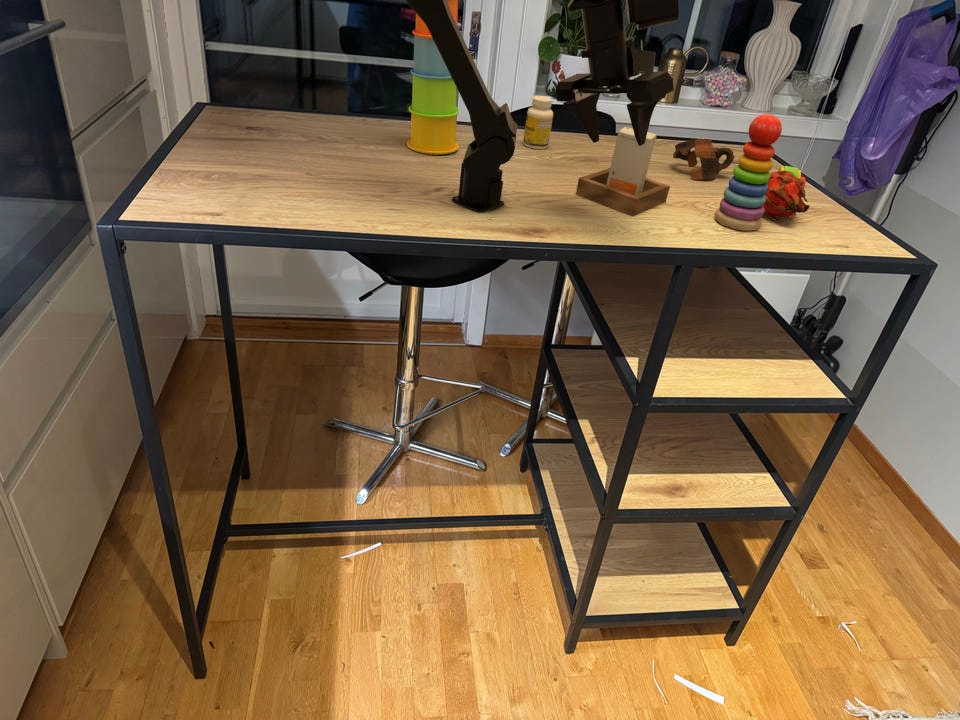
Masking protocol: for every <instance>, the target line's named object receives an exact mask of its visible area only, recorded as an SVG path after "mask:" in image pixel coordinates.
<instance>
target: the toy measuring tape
mask: <svg viewBox="0 0 960 720" xmlns="http://www.w3.org/2000/svg"><path fill="white" fill-rule="evenodd" d="M777 171H790V172H792V173H793V174H794V175H795V177H797V178H799V179H801V180H802V181H803V183H804V184H803V185H802V186H801V187H803V189H804V190H805V187H806V186H805V185H806V182H807V180H806V178H805V177H804V176H802V171H801V170H800V169H799V168H798V167H796V166H795V167H793V166H789V165H788V166H787V165H784V166H780V167H779V168H778V170H777ZM774 172H775V171H772V172H771V173H770V174H772V173H774Z"/></svg>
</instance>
